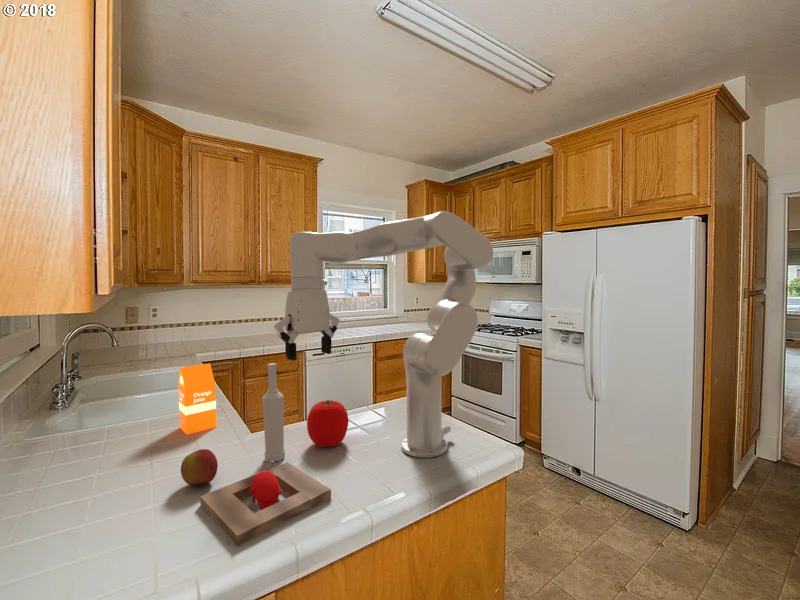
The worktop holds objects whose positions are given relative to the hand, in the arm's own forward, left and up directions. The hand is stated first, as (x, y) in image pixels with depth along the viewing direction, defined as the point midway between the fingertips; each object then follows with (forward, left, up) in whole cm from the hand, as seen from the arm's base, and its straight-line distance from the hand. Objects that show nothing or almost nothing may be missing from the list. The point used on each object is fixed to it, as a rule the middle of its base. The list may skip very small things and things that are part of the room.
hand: (309, 356), depth 92 cm
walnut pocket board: (+14, +4, -28) cm, 32 cm away
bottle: (+3, -13, -28) cm, 31 cm away
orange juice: (+9, -51, -28) cm, 59 cm away
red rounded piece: (+14, +4, -29) cm, 32 cm away
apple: (+21, -14, -28) cm, 38 cm away
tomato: (-12, -10, -28) cm, 32 cm away
